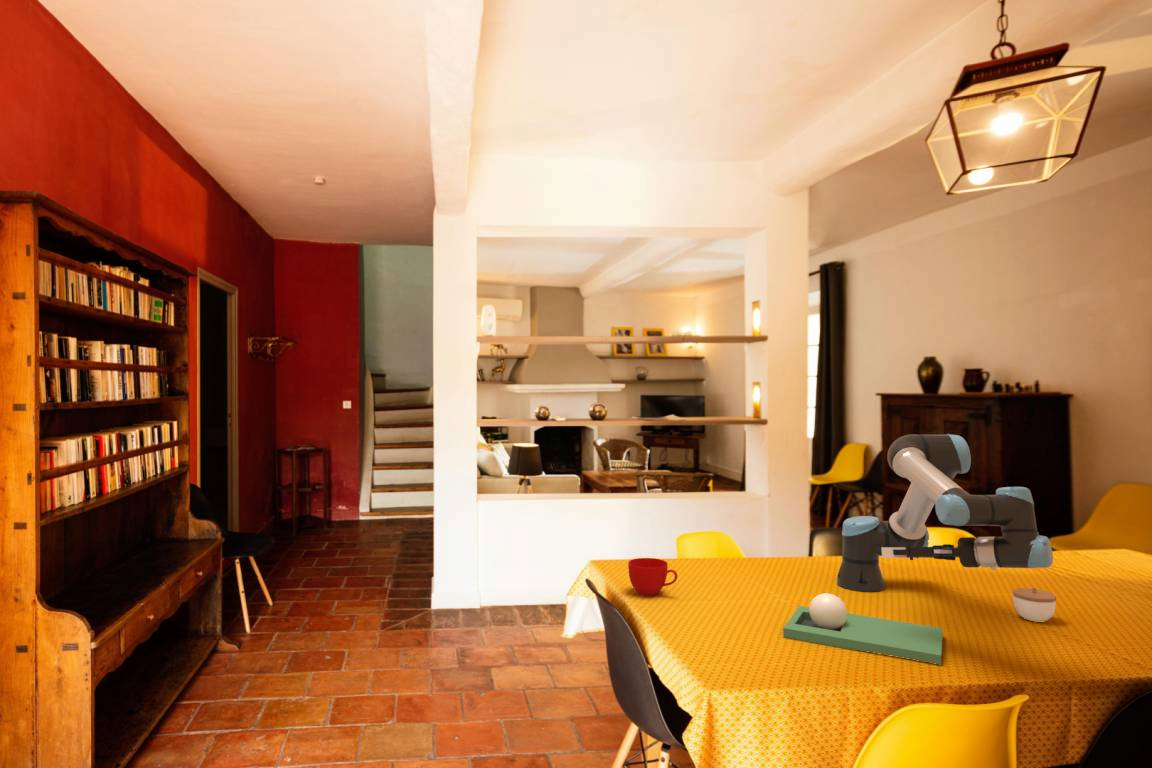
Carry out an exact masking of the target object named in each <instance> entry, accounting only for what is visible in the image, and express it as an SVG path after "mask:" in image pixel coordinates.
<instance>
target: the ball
mask: <svg viewBox="0 0 1152 768" xmlns="http://www.w3.org/2000/svg"><path fill="white" fill-rule="evenodd" d="M808 607H809V613H810V617H811V619H812V621H813V622H814V623H815V624H816V625H817V626H818V627H819V628H822V629H828V630H837V629H839V628H841V627H842V626H843V625H844V623H845V622H846V619H847V613H848V610H847V607H846V604H845V603H844V601H843V600H842V598H840V597H839V596H837V595H835V594H832V593H825V592H824V593H819V594H818V595H816V596H814V598H812V600H811V601H810V604H809V606H808Z"/></svg>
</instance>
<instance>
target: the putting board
mask: <svg viewBox="0 0 1152 768" xmlns="http://www.w3.org/2000/svg"><path fill="white" fill-rule="evenodd" d="M809 607H810V606H803V605H799V606H798V607H797V608H796V610H795V611H794V612H793V614H792V615H791V617H790V618H789V620H788V621H787V623H786V624H785V625H784V626H783V629H782V636H783V638H785V639H791V640H797V641H802V642H806V643H807V642H808V643H811V644H812V643H813V644H819V645H823V646H828V647H835V648H840V649H847V650H851V649H852V651H857V650H861V651H860V652H862V651H869V652H875V653H881V654H886V655H893V656H898V657H904V658H909V659H915V660H919V661H926V662H931V663H936V664H941V665H942V658H941V657H942V655H943V641H942V640H943V638H944V637H943V636H944V635H943V634H944V629H943V627H937V626H930V625H925V624H919V623H912V622H906V621H901V620H900V621H899V620H893V619H886V618H882V617H881V618H880V617H874V616H868V615H860V614H853V613H848V612H847V619H846V622H845V623H844V625H843V626H842V627H841V628H839V629H837V630H828V629H822V628H819V627H818V626H817V625H816V624H815V623H814V622H813V621H812V619H811V617H810V613H809Z"/></svg>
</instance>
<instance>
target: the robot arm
mask: <svg viewBox="0 0 1152 768" xmlns="http://www.w3.org/2000/svg"><path fill="white" fill-rule="evenodd" d="M970 451H971V450H970V447H969V445H968V443H967V441H966V440H965V438H964V437H962V436H960V435H959V434H958V435H957V434H950V433H946V434H945V433H944V434H913V433H911V434H906V435H902V436H900V437H898V438H897V439H895V440H894V441H893V442H892V443H891V444H890V446H889V448H888V451H887V457H886V458H887V463H888V465H889V467H890V468H891V470H892V471H893V472H894V473H895V474H896V475H897V476H899V477H901V478H904V479H906V480H908V481H909V482H910V485H909V487H908V489H907V492H906V494H905V495H904V498H903V500H902V502H901V505H900V507H899V509H898V511H895V512H893V513H892V514H891V515H890V516H889V519H888V520H880V519H879V517H876V516H872V515H871V516H869V515H859V516H851V517H848V518H846V519H845V520H844V521H843V523H842V531H841V535H842V544H841V545H842V546H841V547H842V550H841V551H842V559H841V560H842V561H841V564H840V567H839V570H838V573H837V576H836V584H837V585H838V586H839V587H841V588H845V589H847V590H852V591H855V592H856V591H858V592H869V593H870V592H873V593H875V592H880V591H883V590H884V589H885V580H884V577H883V574H882V570H881V568H880V565H879V562H880V556H881V557H882V558H883V559H884V558H886V559H887V558H888V559H890V558H891V559H894V558H895V559H899V558H900V559H906V558H907V559H909V560H910V561H914V558H915V559H918V558H919V559H920V558H921V559H923V558H927V559H929V558H931V559H935V560H945V561H957V560H956V558H958V559H959V562H960V564H961V566H962V567H964V568H975V569H976V568H979V567H982V568H990V569H991V570H992V571H995V570H996V569H997V568H1001V569H1002V568H1005V569H1007V568H1009V569H1010V568H1012V569H1037V568H1038V569H1044V568H1046V569H1047V568H1049V567H1051V566H1052V565H1053V560H1054V555H1053V549H1052V544H1051V540H1050V538H1048V536H1045V535H1040V533H1039V532H1038V528H1037V520H1036V513H1035V503H1034V499H1033V496H1032V493H1031V490H1030V489H1029V488H1027V487H1026V486H1025V487H1024V486H1005V487H999V488H997V489H996V490H995V494H970V493H969V492H967V491H966V490H964V489H963V488H962V487H961V486H959V485H958V484H957V483H956V482H955V481H954V479H955V477H956V475H957V474H960V475H961V474H962V475H963V474H967V473H968V472H969V470H970V468H971V463H972V459H971V458H972V456H971V452H970ZM933 508H935V513H936V516H937V518H938V521H939V522H940V523H942V524H943V525H948V526H956V527H963V526H970V527H971V526H974V527H975V526H976V527H977V526H983V527H984V526H985V527H986V526H990V527H993V526H994V527H1000V530H1001V531H1000V532H1001V534H1002V536H977V537H974V536H969V537H968V536H967V537H966V536H963V537H959V538H958V540H957V546H955V545H954V544H951V543H948V544H947V543H944V544H942V545H940V544H939V545H938V544H937V545H932V546H929V540H930V536H929V535H930V533H929V531H928V528H927V525H926V524H925V523H926V522H927V519H928V517H929V516H930V514H931V512H932V510H933Z"/></svg>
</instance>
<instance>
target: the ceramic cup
mask: <svg viewBox="0 0 1152 768" xmlns="http://www.w3.org/2000/svg"><path fill="white" fill-rule="evenodd" d="M627 564H628V565H627V566H628V567H627V568H628V577H629V581H630V583H631V585H632V587H633V589H634V590H635V591H636V592H637V594H638V595H640V596H643V597H644V596H646V597H651V596H656V595H658V594H659V593H660V592H661V590H662V589H663V588H664V587H667V586H671V585H673V584H674V583H676V581H677V580H678V573H677V571H676V570H674V569H668V568H669V567H668V565H669V564H668V561H666V560H664V559H660V558H654V557H652V558H651V557H640V558H633V559H630V560H629V561H628V563H627ZM669 573H673V575H674V579H673V580H671V581H670V582H667V583H666V581H667V576H668V574H669Z"/></svg>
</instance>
